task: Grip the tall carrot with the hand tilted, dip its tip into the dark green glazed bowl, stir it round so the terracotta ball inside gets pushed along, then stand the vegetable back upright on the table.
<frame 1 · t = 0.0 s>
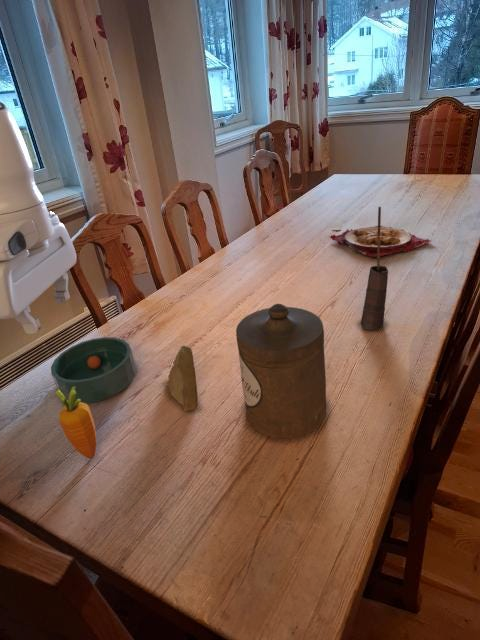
hand: (49, 315, 66), 26 cm above the table, tool pointing down, fingers open, 8 cm apart
ball: (94, 362, 97), point 2 cm above the table, touching bowl
butter churn: (374, 328, 102), on the table
rock: (182, 396, 87), on the table
plate with food: (378, 242, 150), on the table
carrot: (91, 458, 75), on the table
wooden container: (285, 411, 80), on the table
bowl: (98, 380, 95), on the table
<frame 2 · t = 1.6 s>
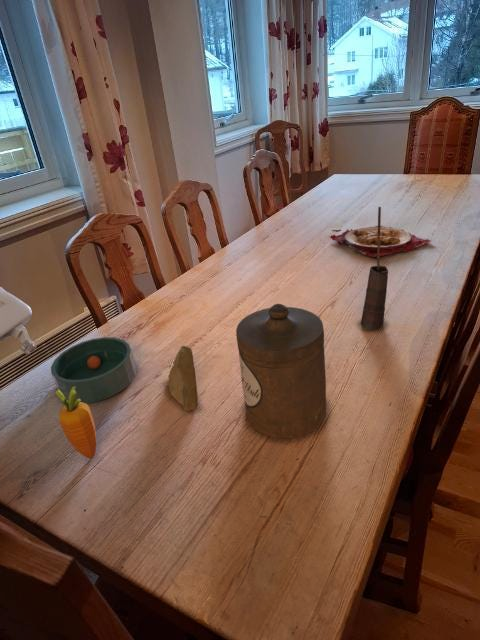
hand: (11, 366, 69), 18 cm above the table, tool tilted 45°, fingers open, 8 cm apart
nothing on the table moved.
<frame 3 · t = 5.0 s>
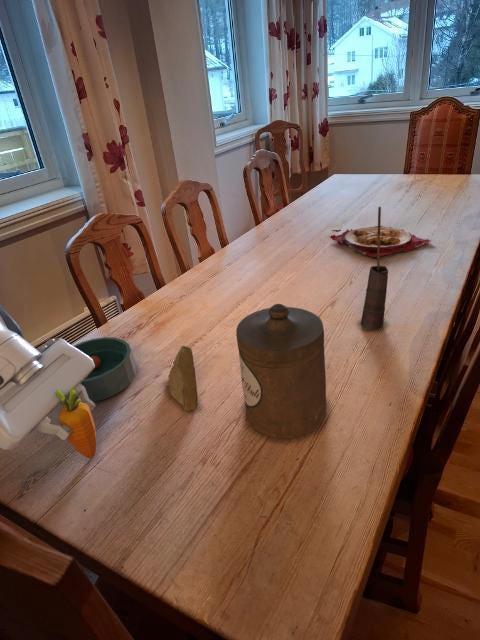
hand: (80, 422, 70), 8 cm above the table, tool tilted 45°, fingers closed on carrot, 5 cm apart
carrot: (91, 458, 75), on the table, touching gripper
everything else where it was.
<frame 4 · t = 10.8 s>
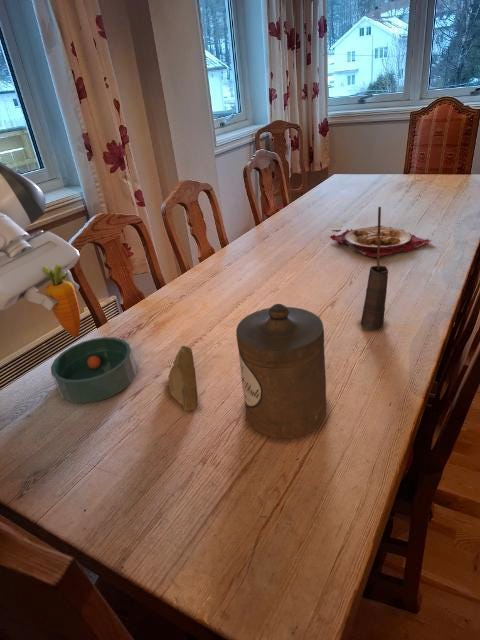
hand: (65, 298, 78), 23 cm above the table, tool tilted 45°, fingers closed on carrot, 5 cm apart
carrot: (76, 338, 82), point 15 cm above the table, touching gripper
everything else where it was.
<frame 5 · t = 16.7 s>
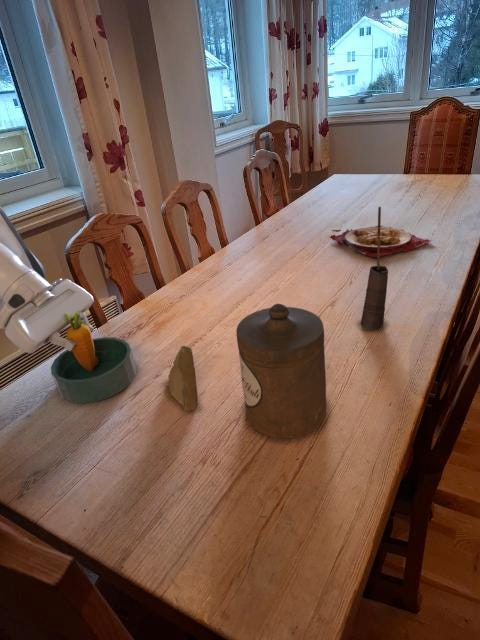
hand: (82, 340, 91), 10 cm above the table, tool tilted 45°, fingers closed on carrot, 5 cm apart
ball: (91, 361, 98), point 2 cm above the table, tilted 30°, touching bowl
carrot: (91, 372, 95), point 2 cm above the table, touching gripper
everything else where it was.
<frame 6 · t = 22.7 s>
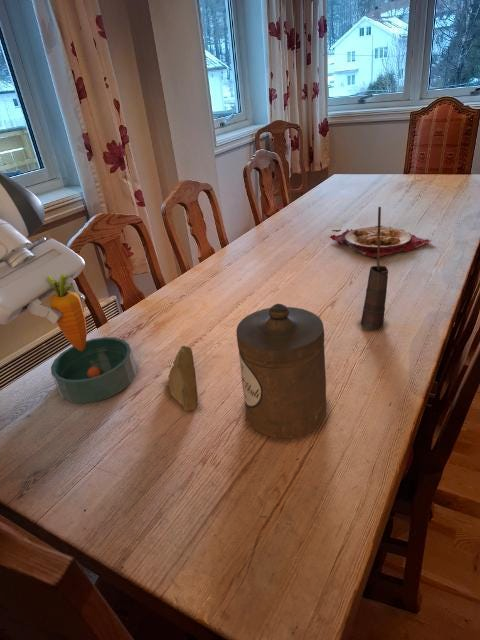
hand: (70, 310, 73), 23 cm above the table, tool tilted 45°, fingers closed on carrot, 5 cm apart
ball: (94, 373, 93), point 2 cm above the table, tilted 163°, touching bowl
carrot: (82, 351, 77), point 15 cm above the table, touching gripper
everything else where it was.
when the fingers open (8 cm above the table, at t = 27.8 s): carrot stays where it is, on the table.
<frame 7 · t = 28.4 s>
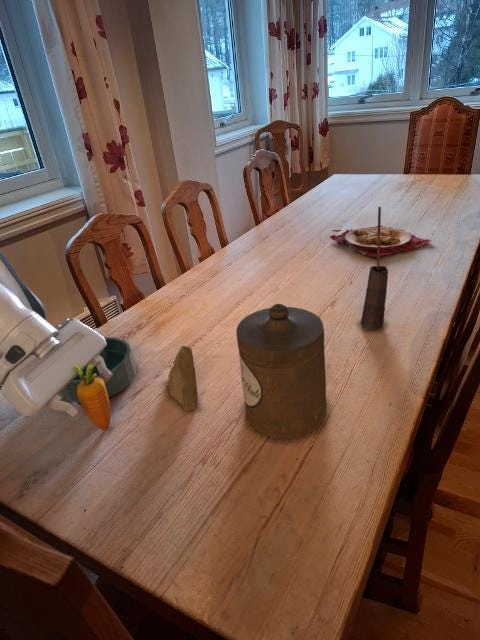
hand: (94, 394, 76), 9 cm above the table, tool tilted 45°, fingers open, 8 cm apart
ball: (97, 385, 89), point 2 cm above the table, tilted 16°, touching bowl
carrot: (105, 431, 80), on the table
everything else where it was.
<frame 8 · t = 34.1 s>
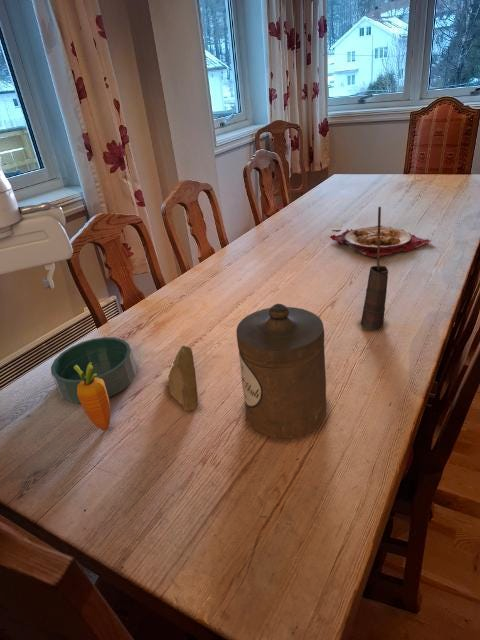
hand: (20, 295, 71), 27 cm above the table, tool pointing down, fingers open, 8 cm apart
nothing on the table moved.
at the end: ball moved 9.5 cm from its start; ball inside the target area in the bowl (5.0 cm from its centre), point 2.1 cm above the bowl's base; carrot tilted 0° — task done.
